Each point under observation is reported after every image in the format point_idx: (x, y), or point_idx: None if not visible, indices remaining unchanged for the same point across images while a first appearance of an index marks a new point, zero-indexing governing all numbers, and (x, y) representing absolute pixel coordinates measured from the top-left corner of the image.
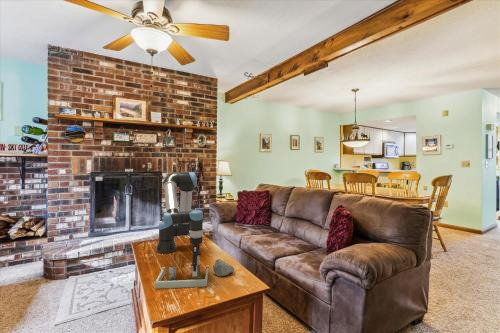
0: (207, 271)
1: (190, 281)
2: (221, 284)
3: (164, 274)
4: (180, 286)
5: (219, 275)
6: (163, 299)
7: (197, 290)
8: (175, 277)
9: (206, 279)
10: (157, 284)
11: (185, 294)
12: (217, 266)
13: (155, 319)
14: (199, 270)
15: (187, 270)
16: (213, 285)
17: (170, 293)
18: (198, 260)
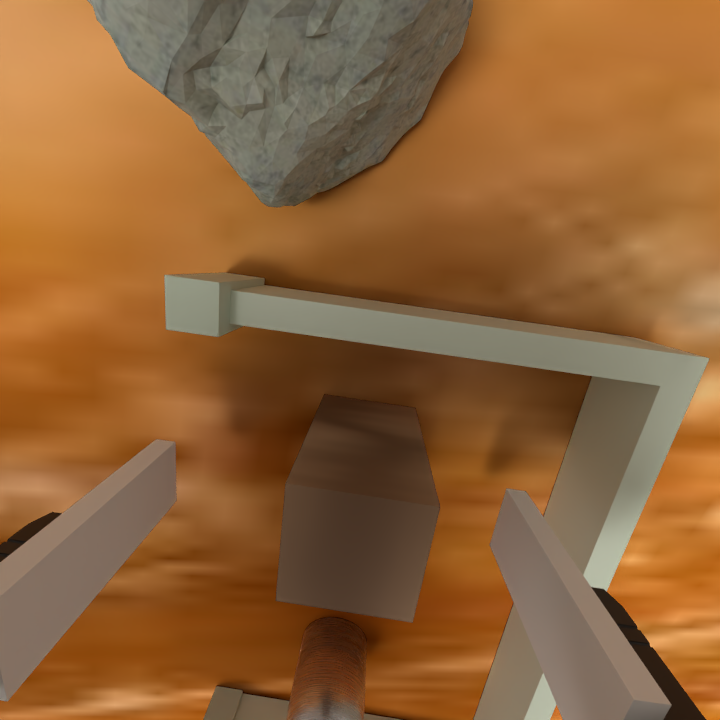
0: (376, 320)
1: (613, 561)
2: (671, 119)
3: (240, 697)
4: None
5: (422, 112)
6: (698, 700)
7: (681, 447)
8: (343, 637)
9: (681, 363)
10: None
11: (705, 556)
12: (372, 73)
13: None
14: (431, 476)
15: None
16: (646, 248)
17: None
18: (100, 521)
